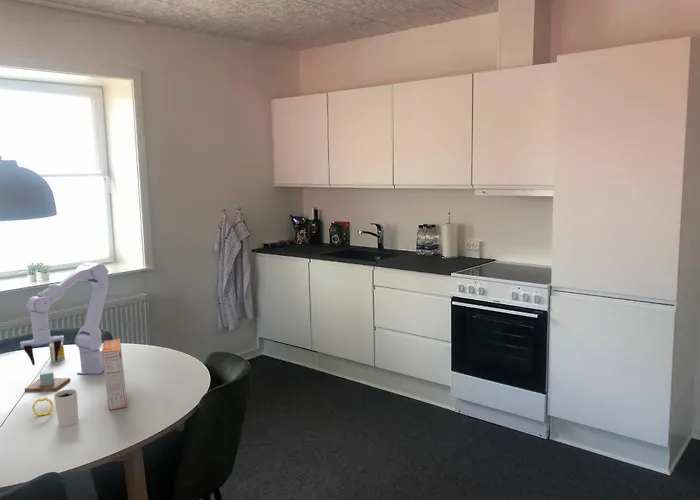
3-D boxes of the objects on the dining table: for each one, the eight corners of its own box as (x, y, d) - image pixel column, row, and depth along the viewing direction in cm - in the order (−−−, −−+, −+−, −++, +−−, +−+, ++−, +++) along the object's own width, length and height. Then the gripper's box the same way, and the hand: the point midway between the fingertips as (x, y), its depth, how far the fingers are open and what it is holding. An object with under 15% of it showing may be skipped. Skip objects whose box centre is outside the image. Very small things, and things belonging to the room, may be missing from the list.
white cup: (54, 422, 191) (50, 393, 189) (75, 416, 195) (72, 387, 194) (61, 429, 186) (58, 399, 184) (83, 422, 190) (79, 393, 189)
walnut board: (70, 381, 227) (69, 378, 227) (56, 391, 217) (55, 388, 217) (40, 381, 228) (40, 378, 228) (24, 391, 218) (24, 388, 218)
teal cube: (54, 380, 225) (52, 369, 224) (54, 383, 221) (53, 372, 221) (40, 382, 223) (39, 371, 222) (41, 386, 219) (39, 375, 218)
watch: (33, 418, 195) (31, 401, 194) (33, 415, 197) (31, 398, 196) (53, 414, 197) (51, 397, 196) (53, 411, 200) (51, 394, 199)
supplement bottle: (67, 357, 255) (64, 336, 254) (60, 361, 250) (57, 339, 248) (55, 357, 256) (53, 336, 254) (48, 361, 250) (45, 340, 249)
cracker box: (108, 395, 211) (103, 340, 208) (126, 393, 213) (121, 338, 210) (107, 411, 198) (101, 352, 195) (126, 408, 200) (120, 349, 197)
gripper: (62, 322, 226) (65, 356, 228) (19, 328, 219) (23, 363, 221) (62, 326, 219) (66, 361, 222) (18, 333, 213) (23, 368, 215)
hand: (45, 362), depth 221 cm, fingers open, 7 cm apart
